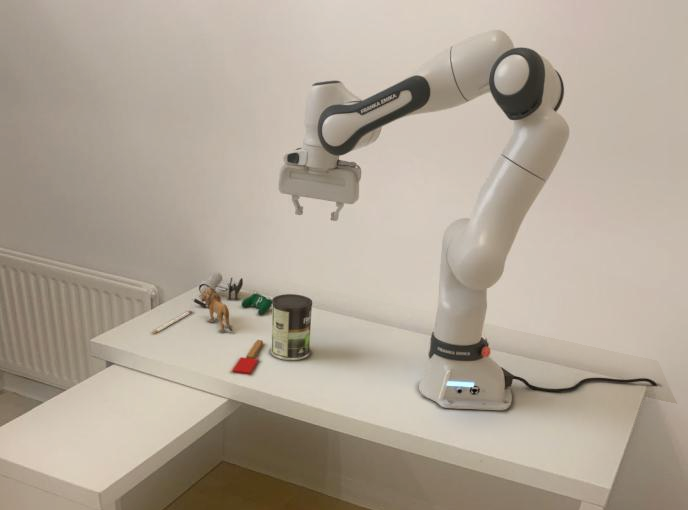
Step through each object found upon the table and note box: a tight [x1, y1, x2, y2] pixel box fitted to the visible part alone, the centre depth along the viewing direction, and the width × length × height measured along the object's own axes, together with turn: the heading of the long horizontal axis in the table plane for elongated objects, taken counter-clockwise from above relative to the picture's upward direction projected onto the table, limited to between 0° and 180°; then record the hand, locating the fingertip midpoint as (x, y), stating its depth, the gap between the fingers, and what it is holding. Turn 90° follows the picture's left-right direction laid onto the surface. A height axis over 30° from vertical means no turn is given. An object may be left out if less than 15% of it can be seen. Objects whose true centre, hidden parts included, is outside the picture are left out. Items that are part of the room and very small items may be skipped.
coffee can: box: [270, 293, 313, 361], centre depth 194 cm, size 10×10×14 cm
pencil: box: [153, 310, 192, 334], centre depth 211 cm, size 1×19×1 cm, turn 155°
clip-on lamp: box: [191, 271, 244, 308], centre depth 226 cm, size 12×6×18 cm
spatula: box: [232, 339, 264, 375], centre depth 194 cm, size 4×19×1 cm, turn 169°
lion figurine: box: [198, 287, 234, 333], centre depth 209 cm, size 15×5×9 cm, turn 37°
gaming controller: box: [240, 290, 273, 316], centre depth 222 cm, size 9×4×6 cm
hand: (316, 217), depth 188 cm, fingers open, 8 cm apart
